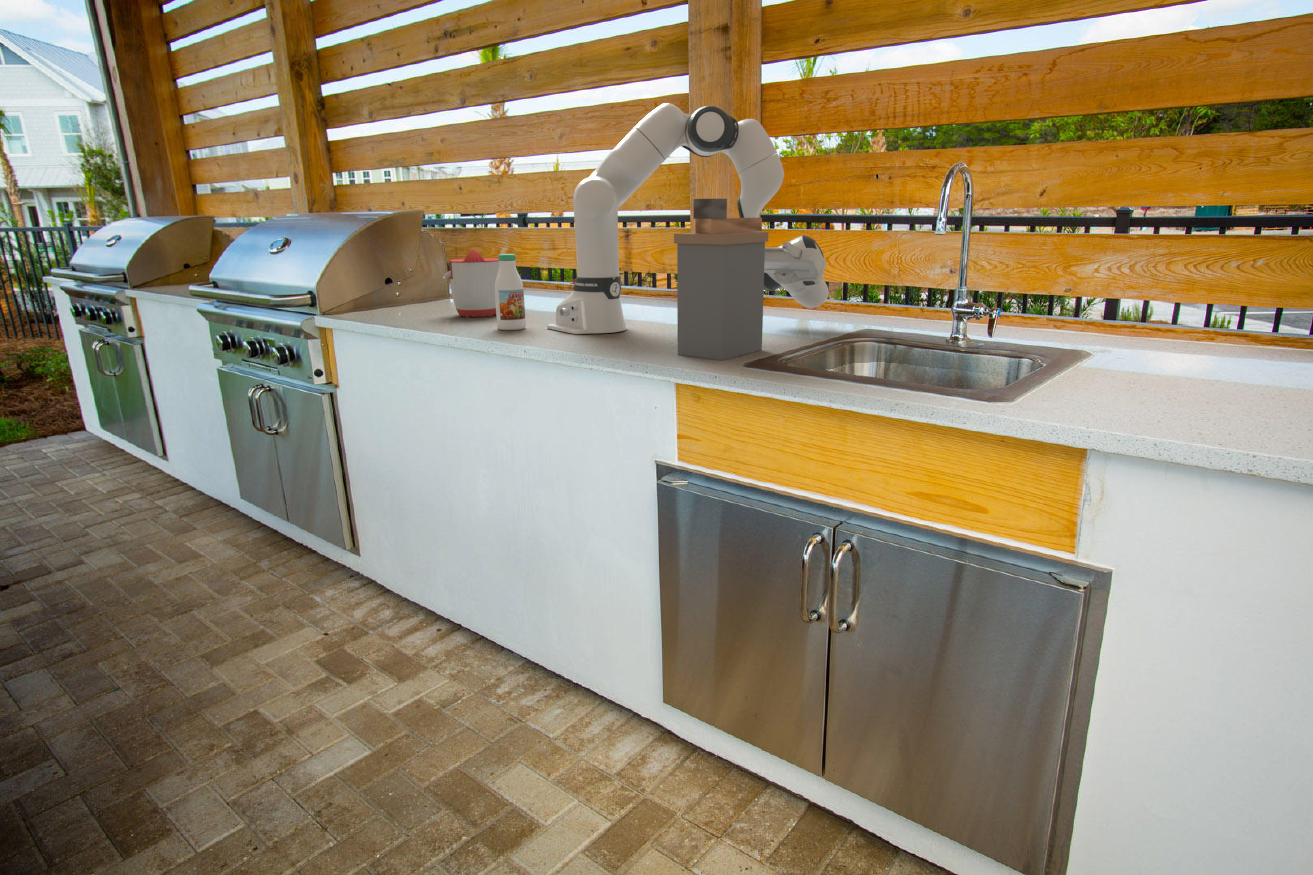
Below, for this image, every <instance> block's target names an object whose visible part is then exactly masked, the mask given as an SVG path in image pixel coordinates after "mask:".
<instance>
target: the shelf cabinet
mask: <svg viewBox="0 0 1313 875" xmlns="http://www.w3.org/2000/svg"><path fill="white" fill-rule="evenodd" d="M769 233H770V232H769V231H761V232H739V233H720V234H695V232H681V233H674V234H673V244H677V249H676V250H677V252H676V253H677V256H676V258H677V264H676V265H677V275H676V276H677V277H676V278H677V280H676V281H677V284H676V285H677V286H676V287H677V293H676V294H677V297H676V298H677V302H676V303H677V305H676V306H677V313H676V314H677V316H676V317H677V318H676V319H677V355H679V356H687V357H695V358H701V359H709V360H716V361H725V360H729V359H733V358H737V357H740V355H741V356H744V355H747V354H751V353H756V352H759V351H762V350H763V326H764V325H763V323H764V321H763V320H764V293H765V292H764V290H765V289H764V261H765V247H766V242H767V243H768V242H769ZM755 351H756V352H755Z"/></svg>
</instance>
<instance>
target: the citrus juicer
mask: <svg viewBox="0 0 1313 875" xmlns="http://www.w3.org/2000/svg"><path fill="white" fill-rule="evenodd" d="M448 261H449V262H448V263H449V270H448V271H446V272H445V273H444V275H443V276H442V277H443V279H444V280H445V279H450V290H451V298H452V300H453V303H454V306H455V309H456V312H457V313H458V316H461V317H465V318H468V319H469V318H473V317H488V318H490V317H493V316H494V315H496V301H495V281H496V278H497V275H498V272H499V268H500V263H499V259H498V258H490V257H489V258H486V257H485V258H484V257H483V256H482V254H480V253H479V252H478V251H476V249H472V250H469V252H468V254H466V256H465V258H454V259H449V260H448Z"/></svg>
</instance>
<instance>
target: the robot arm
mask: <svg viewBox="0 0 1313 875" xmlns="http://www.w3.org/2000/svg"><path fill="white" fill-rule="evenodd" d="M680 147H681V148H683V149H685V150H687V151H689V152H690V153H692V154H693V155H695V156H698V157H701V158H709V157H713V156H715V155H717V154H718V153H722V154H724V155H726V156H727V157H728V158H729V159H730V161H731V162H732V163H733V166H734V169H735V171H736V173H737V175H738V177H739V182H740V194H739V196H738V197H737V200H736V203H737V213H738V216H739V217H738V218H760V214H761V213H762V210H763V209H764V207H766V205H767V204H768V203H769V202H770V201H771V200H772V198H773V197H774V196H775V195H776V194H777V193H778V191H779V190H780V188H781V186H782V184H783V181H784V177H785V170H784V167H783V163H782V160H781V158H780V156H779V153H778V152H777V149H776V147H775V144H773V140H772V139H771V138H770V136H769V134H768V133H767V131H766V129H765V128H764V127H763V125H762V124H761V123H760V122H759V121H758V120H757V119H754V118H745V119H742V120H740V121H738V120H737V119H736V118H734V117H733V116H731V115H730V114H729V113H727V111H725V110H723V109H721V108H720V107H717V106H715V105H705V106H701V107H699V108H697V109H696V110H695V111H694V112H693V113H692V114H688V113H685V112H683V111H682V110H681V109H680V107H678V106H676V105H675V104H673V103H669V102H664V103H661V104H659V105H658V106H656V108H654V109H653V110H651V111H650V112H649V113H647V115H645V116H644V117H643V118H642V119H641V120H640V121H638V123H637V124H636V125H635V126H633V128H632V129H631V130H630V131H629V132H628V133H627V134H626V135H625V137H623V139H622V140H620V142H619V143H617V144H616V146H615V147H614V148H613V149H612V150H611V151H610V152H609V153H608V155H607V156H606V157H605V158H604V159H603V161H601V163H600V164H599V165H598V166H597V168H595V169H594V171H592V172H591V174H590V175H589V176H588V177H586V178H584V179H583V180H581V181H580V182H579V183H578V184H577V185H576V187H575V189H574V192H573V196H572V200H573V202H572V203H573V217H574V233H575V234H574V235H575V236H574V237H575V247H576V250H575V251H576V269H577V270H576V272H577V273H576V275H577V276H576V277H575V279H569V281H570V282H569V284H570V285H573V286H572V292H571V293H570V294H568V295H567V296H566V298H564V299H563V300H562V301H561V302H559V303H558V305H557V306H556V309H555V322H552V323H549V324H547V326H546V328H547V329H548V330H553V331H557V332H558V331H559V332H563V333H569V334H574V335H583V334H584V335H585V334H608V333H618V332H623V331H626V330H627V326H626V322H625V319H624V318H625V317H624V314H623V313H624V311H623V305H622V298H621V292H622V278H621V276H620V257H619V253H620V252H619V217H618V216H619V214H618V213H619V212H618V211H619V208H620V207H621V206H622V205H623V204H624V203H625V202H626V201H627V200H629V198H631V196H632V195H633V194H634V193H635V192H636V191H637V190H638V189H639V188H640V187H641V186H642V185H643V184H644V182H646V181H647V180H648V179H649V177H650V176H652V174H653V173H654V172H655V171H656V170H657V169H658V168H659V167H660V166H661V165H662V164H663V163H664V162H665V161H666V160H667V159H668V158H669V157H670V155H671V154H672V153H673V152H675V151H676V150H677V149H679V148H680ZM759 232H762V231H759ZM826 264H827V260H826V258H825V255H824V253H823V251H822V249H821V247H820V245H819V244H818V242H816V240H815V239H814V238H812V237H810V236H808V235H805V234H804V235H800V236H798V237H795V238H793V239H792V240H789V241H783V243H782V244H781V245H779V246H778V247H768V246H765V261H764V290H767V291H771V292H773V291H776V290H778V289H780V288H781V287H782V288H783V290H785V291H787V292H788V293H789V294H790V296H791V297H792V299H794V300H795V301H796V302H797V303H798V304H800V305H801V306H803V307H804V308H807V309H815V308H817V307H819V306H822V305H823V304H824V303H825V302H826V301H827V299H828V298H829V295H830V291H829V286H828V285H827V283H826V281H825V279H824V272H825V269H826Z"/></svg>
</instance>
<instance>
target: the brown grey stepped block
mask: <svg viewBox="0 0 1313 875" xmlns="http://www.w3.org/2000/svg"><path fill="white" fill-rule="evenodd" d="M693 220H694V221H695V222H694V223H695V227H694V228H695V232H694V233H695V234H720V233H739V232H759V231H761V232H763V230H762V229H763V228H762V226H763V217H759V218H740V217H728V198H694V199H693Z"/></svg>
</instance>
